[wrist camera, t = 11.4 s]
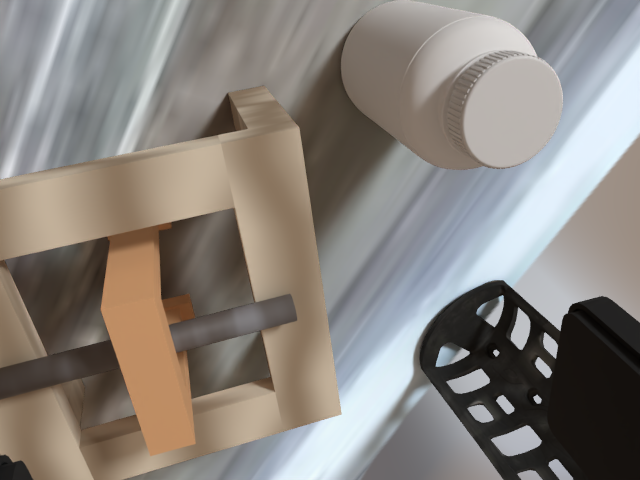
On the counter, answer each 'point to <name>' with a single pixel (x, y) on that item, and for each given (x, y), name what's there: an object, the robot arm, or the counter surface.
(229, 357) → the counter surface
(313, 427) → the counter surface
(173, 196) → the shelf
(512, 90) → the pill bottle
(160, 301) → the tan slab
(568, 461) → the holder
